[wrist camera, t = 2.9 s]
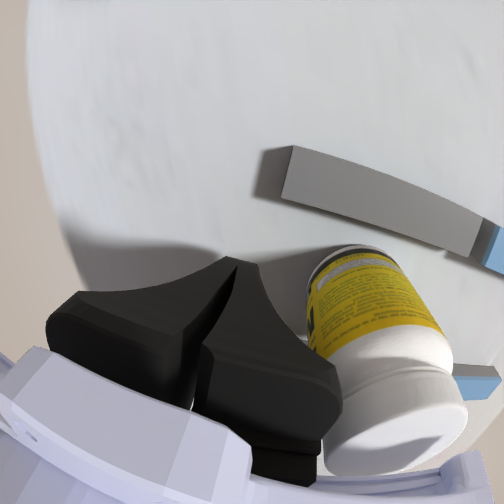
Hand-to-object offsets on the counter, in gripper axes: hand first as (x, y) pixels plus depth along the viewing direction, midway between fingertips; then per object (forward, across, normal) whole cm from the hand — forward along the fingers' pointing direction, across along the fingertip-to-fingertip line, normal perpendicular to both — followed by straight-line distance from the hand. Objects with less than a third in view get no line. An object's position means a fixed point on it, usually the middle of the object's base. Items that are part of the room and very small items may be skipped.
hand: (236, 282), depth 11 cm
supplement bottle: (+2, -5, 0) cm, 6 cm away
